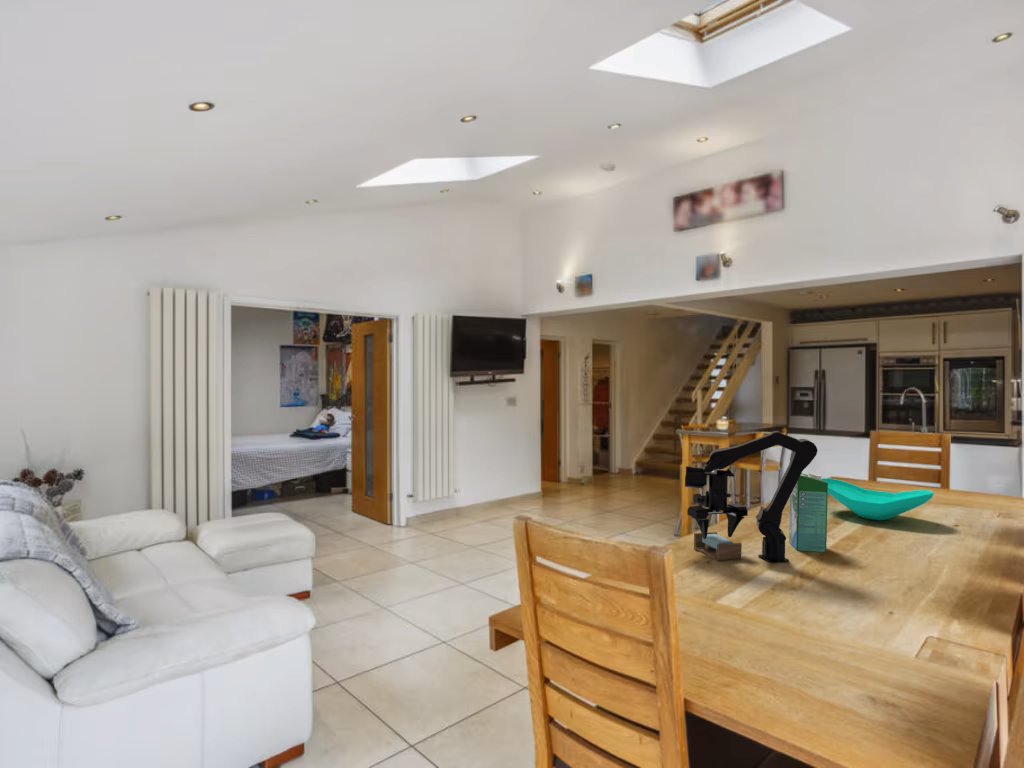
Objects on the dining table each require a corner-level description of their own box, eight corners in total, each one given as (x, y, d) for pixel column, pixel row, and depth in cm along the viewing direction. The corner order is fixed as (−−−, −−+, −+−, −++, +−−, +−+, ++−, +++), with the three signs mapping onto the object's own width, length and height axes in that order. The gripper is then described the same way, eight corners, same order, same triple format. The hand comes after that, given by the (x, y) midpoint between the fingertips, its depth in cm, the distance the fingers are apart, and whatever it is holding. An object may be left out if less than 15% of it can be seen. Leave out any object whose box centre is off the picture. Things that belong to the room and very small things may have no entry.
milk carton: (826, 552, 188) (828, 475, 188) (796, 550, 190) (798, 474, 190) (817, 544, 197) (819, 471, 197) (789, 542, 199) (790, 469, 198)
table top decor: (937, 520, 231) (938, 487, 231) (927, 534, 210) (928, 498, 210) (827, 504, 258) (828, 474, 257) (809, 515, 237) (810, 483, 237)
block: (702, 542, 189) (702, 534, 189) (715, 541, 191) (715, 533, 191) (718, 550, 181) (719, 542, 181) (732, 549, 182) (732, 541, 182)
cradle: (741, 559, 180) (741, 543, 180) (718, 561, 178) (719, 545, 178) (715, 546, 193) (715, 531, 193) (693, 548, 191) (694, 533, 191)
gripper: (727, 483, 195) (726, 529, 196) (678, 485, 190) (677, 532, 191) (749, 490, 185) (748, 538, 185) (697, 492, 180) (697, 542, 180)
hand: (717, 537), depth 186 cm, fingers open, 9 cm apart
